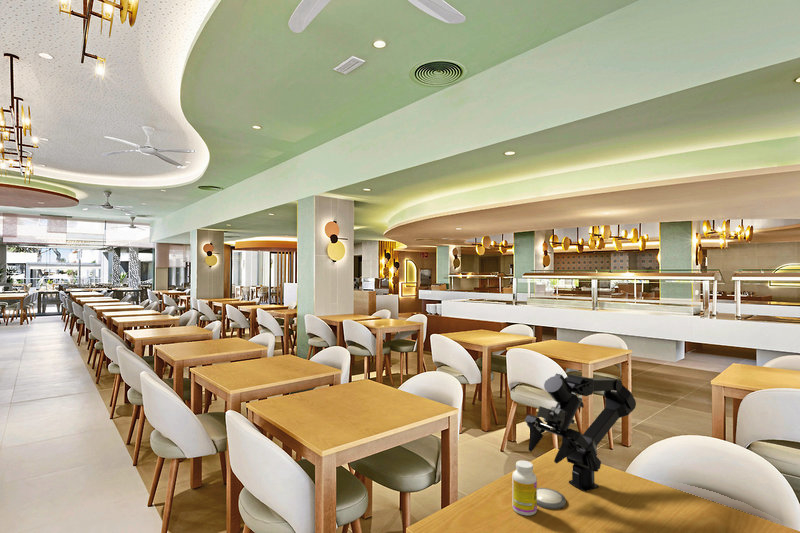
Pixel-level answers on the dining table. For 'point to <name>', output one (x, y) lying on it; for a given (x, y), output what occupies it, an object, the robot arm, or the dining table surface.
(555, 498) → the push button
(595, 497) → the dining table surface
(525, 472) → the supplement bottle
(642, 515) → the dining table surface
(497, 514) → the dining table surface
